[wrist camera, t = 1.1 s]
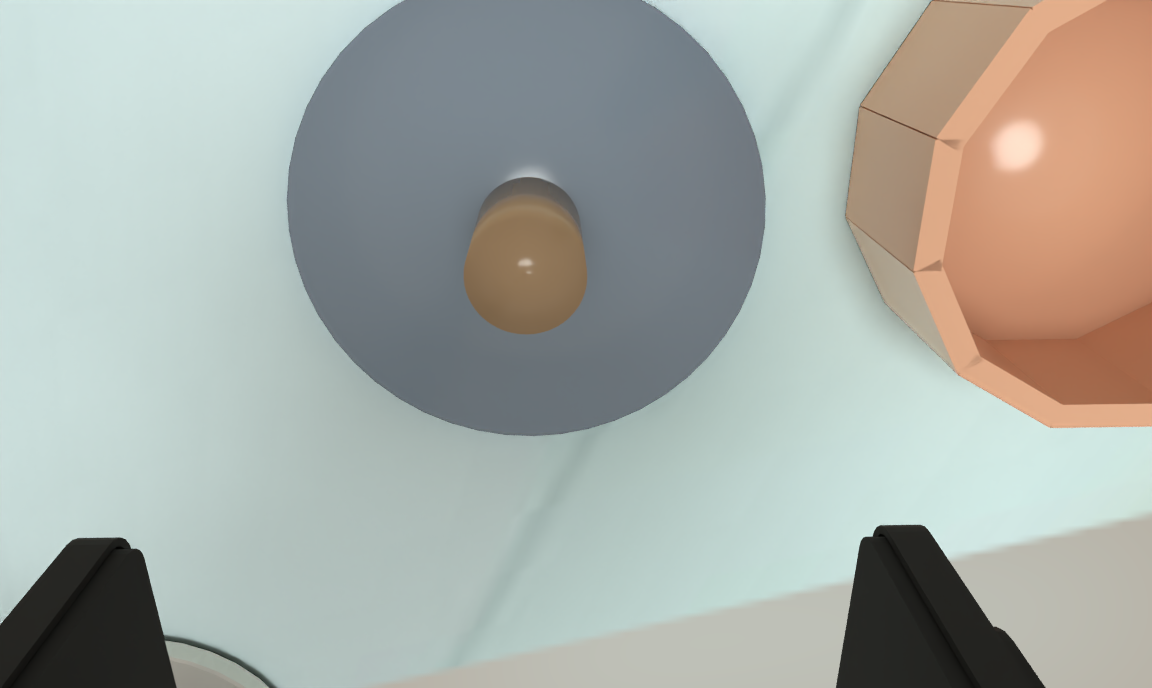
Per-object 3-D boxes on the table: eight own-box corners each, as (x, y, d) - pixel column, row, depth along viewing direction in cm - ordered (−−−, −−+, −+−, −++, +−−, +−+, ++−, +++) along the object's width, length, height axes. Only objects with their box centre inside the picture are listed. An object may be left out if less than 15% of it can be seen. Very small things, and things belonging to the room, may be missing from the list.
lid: (738, 417, 33) (778, 509, 28) (325, 423, 33) (279, 518, 27) (778, -31, 27) (840, -31, 21) (265, -32, 26) (187, -32, 21)
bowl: (1194, 346, 32) (1328, 423, 27) (827, 350, 32) (886, 430, 26) (1326, -65, 27) (1529, -74, 21) (882, -66, 26) (971, -76, 21)
